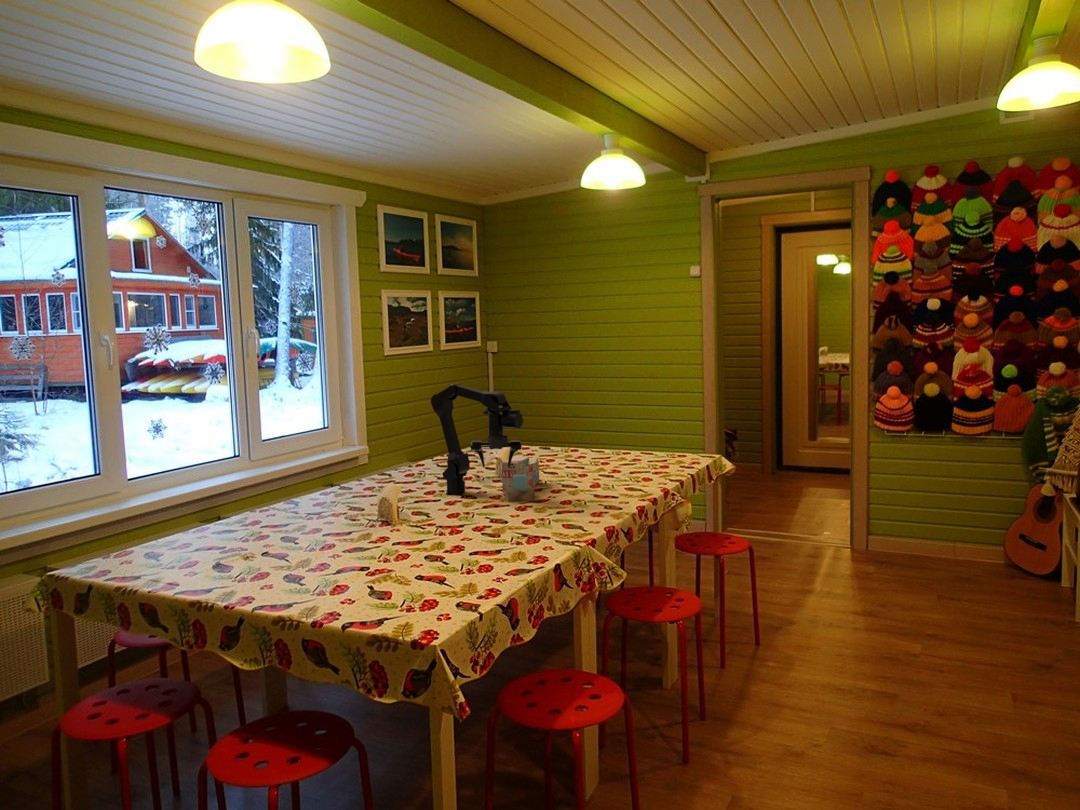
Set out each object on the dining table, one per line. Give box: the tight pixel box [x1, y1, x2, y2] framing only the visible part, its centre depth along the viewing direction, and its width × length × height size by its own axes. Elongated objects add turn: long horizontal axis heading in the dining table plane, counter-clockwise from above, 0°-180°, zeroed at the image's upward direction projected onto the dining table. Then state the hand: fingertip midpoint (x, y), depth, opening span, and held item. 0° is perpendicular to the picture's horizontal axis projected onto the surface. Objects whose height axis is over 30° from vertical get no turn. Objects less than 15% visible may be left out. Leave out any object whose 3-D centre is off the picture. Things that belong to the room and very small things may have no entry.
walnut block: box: [504, 486, 536, 503], centre depth 304 cm, size 10×10×4 cm
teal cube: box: [513, 475, 527, 491], centre depth 302 cm, size 5×5×5 cm
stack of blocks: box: [501, 456, 540, 494], centre depth 322 cm, size 21×6×12 cm, turn 156°
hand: (496, 467), depth 304 cm, fingers open, 9 cm apart
